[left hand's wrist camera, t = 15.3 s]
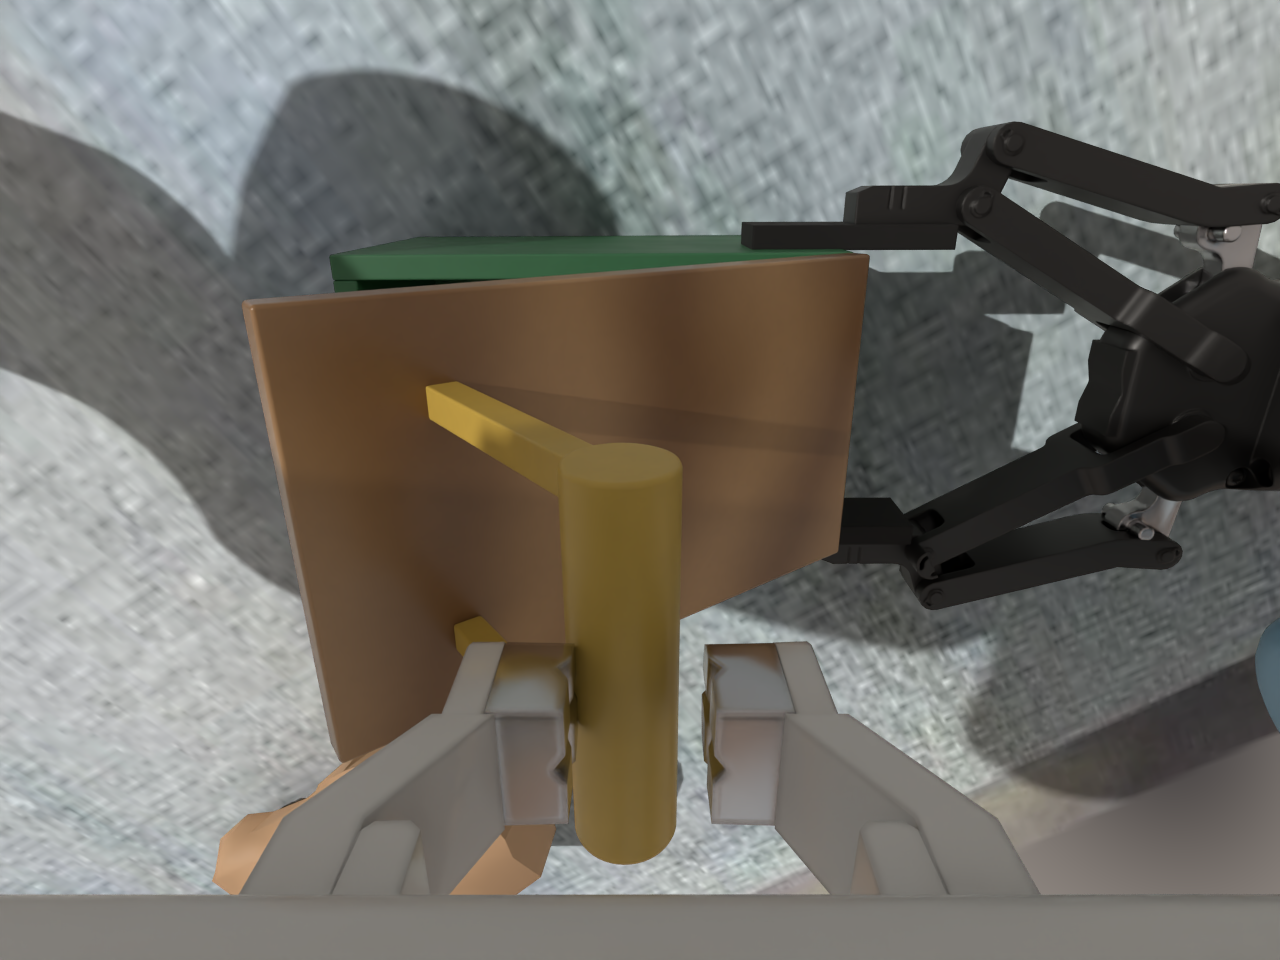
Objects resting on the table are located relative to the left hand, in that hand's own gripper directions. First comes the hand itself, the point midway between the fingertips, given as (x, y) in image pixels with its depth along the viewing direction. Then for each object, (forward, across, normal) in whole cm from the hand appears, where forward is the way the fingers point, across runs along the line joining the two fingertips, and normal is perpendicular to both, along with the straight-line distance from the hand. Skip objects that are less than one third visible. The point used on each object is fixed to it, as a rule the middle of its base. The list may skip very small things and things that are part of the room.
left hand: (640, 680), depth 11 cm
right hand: (+17, -4, 0) cm, 17 cm away
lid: (+9, 0, 0) cm, 9 cm away
